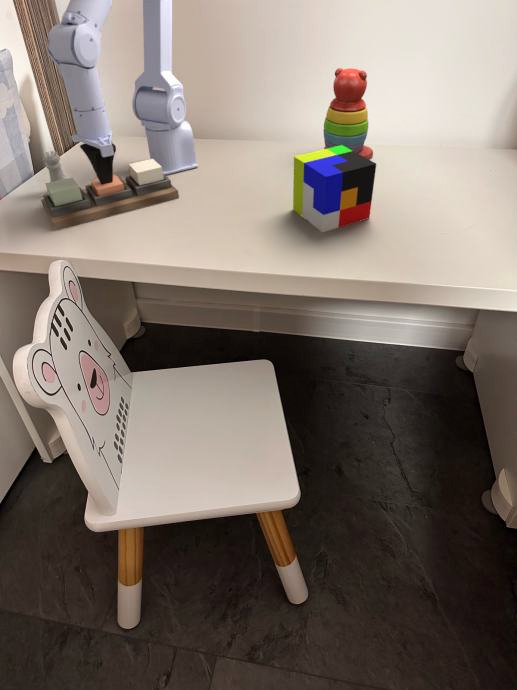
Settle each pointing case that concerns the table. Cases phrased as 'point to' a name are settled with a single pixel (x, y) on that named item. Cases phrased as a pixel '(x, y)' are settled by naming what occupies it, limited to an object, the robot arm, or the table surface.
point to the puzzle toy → (333, 187)
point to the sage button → (64, 191)
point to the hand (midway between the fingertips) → (106, 182)
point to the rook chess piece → (53, 166)
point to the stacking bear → (348, 113)
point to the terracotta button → (107, 186)
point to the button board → (108, 202)
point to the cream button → (146, 171)
